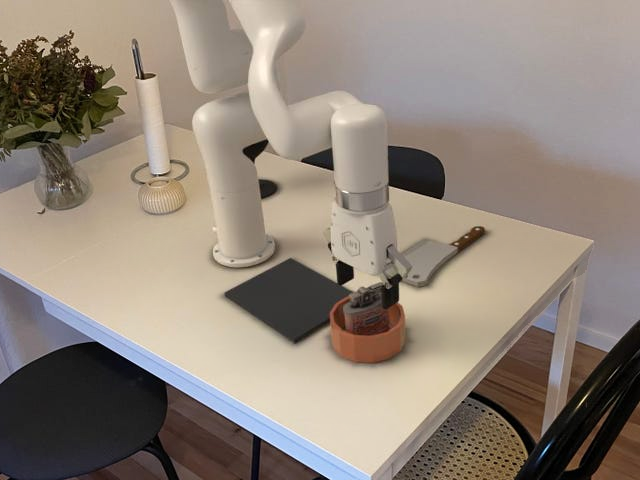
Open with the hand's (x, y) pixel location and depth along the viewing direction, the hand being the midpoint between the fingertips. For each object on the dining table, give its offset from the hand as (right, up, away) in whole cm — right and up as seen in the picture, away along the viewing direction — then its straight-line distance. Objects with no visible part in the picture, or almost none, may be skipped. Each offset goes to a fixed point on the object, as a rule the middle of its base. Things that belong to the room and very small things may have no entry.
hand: (367, 293), depth 104 cm
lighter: (+1, -8, +5) cm, 10 cm away
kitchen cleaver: (+16, +7, +25) cm, 31 cm away
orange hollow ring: (+1, -8, +5) cm, 9 cm away
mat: (-12, -2, +17) cm, 21 cm away
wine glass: (-21, +23, +56) cm, 64 cm away
